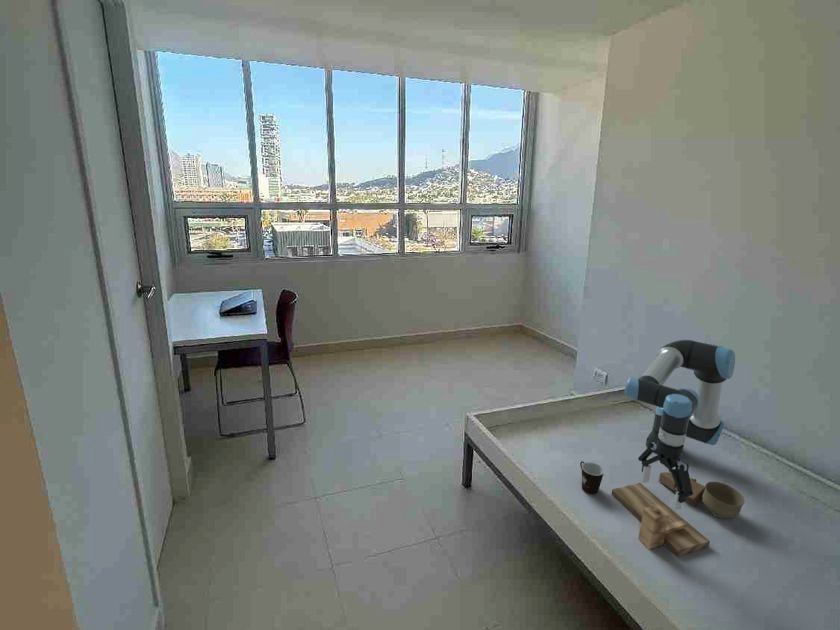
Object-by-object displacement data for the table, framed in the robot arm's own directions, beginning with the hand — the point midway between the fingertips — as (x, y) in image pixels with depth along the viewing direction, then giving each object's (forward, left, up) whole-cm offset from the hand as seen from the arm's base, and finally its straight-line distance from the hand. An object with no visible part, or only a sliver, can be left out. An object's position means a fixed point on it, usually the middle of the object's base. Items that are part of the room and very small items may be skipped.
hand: (660, 494), depth 147 cm
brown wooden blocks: (-34, -17, -20) cm, 43 cm away
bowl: (-36, -3, -20) cm, 41 cm away
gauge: (-5, 0, -20) cm, 20 cm away
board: (-11, -8, -20) cm, 24 cm away
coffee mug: (+2, -31, -20) cm, 37 cm away
